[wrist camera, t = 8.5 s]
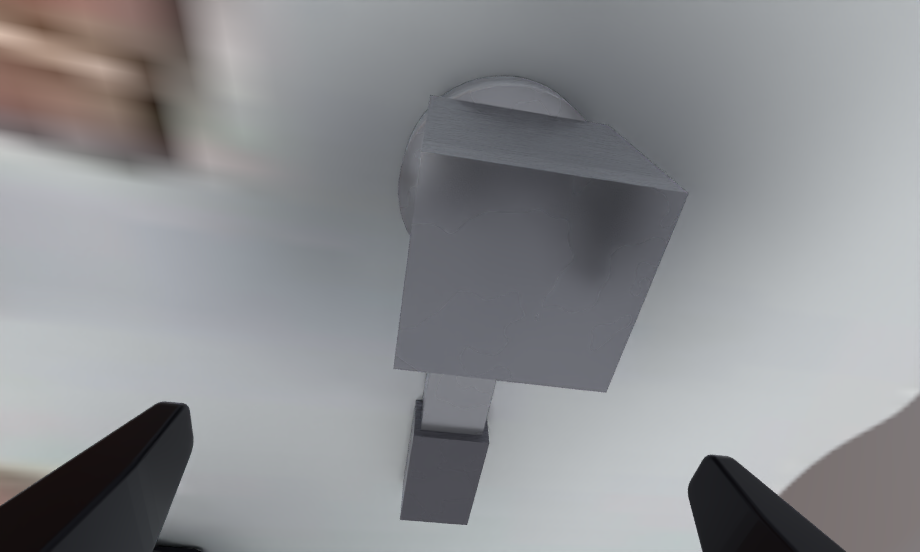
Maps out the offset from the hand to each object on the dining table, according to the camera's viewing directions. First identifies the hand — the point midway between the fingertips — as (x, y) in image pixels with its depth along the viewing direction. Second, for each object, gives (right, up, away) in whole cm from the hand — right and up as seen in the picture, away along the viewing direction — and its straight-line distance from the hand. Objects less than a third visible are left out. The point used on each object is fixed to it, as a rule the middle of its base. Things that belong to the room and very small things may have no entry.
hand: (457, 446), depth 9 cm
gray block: (+1, +6, +8) cm, 10 cm away
